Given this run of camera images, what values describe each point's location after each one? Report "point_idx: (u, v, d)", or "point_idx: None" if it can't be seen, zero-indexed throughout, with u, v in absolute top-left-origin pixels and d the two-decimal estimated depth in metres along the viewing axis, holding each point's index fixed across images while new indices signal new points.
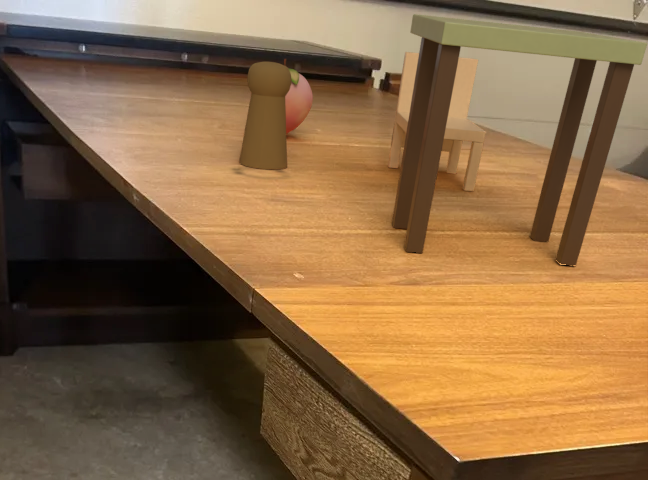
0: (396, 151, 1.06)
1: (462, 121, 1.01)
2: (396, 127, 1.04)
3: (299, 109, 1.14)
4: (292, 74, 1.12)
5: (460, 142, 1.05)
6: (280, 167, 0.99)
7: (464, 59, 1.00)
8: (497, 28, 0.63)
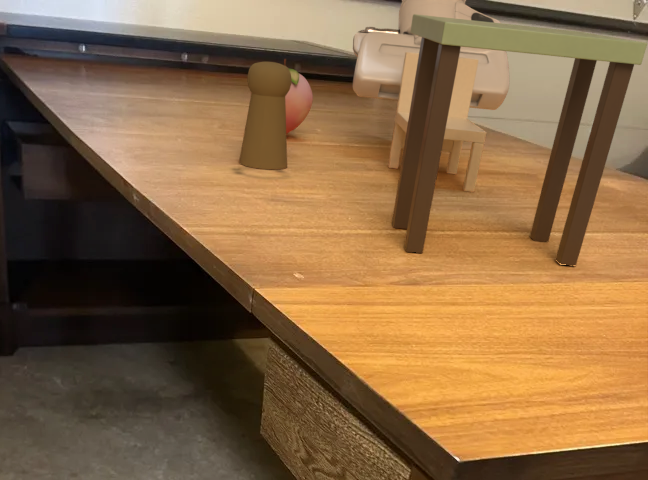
0: (397, 151, 1.06)
1: (462, 121, 1.00)
2: (396, 127, 1.04)
3: (299, 109, 1.14)
4: (292, 74, 1.12)
5: (460, 142, 1.05)
6: (280, 167, 0.99)
7: (464, 59, 1.00)
8: (497, 28, 0.63)
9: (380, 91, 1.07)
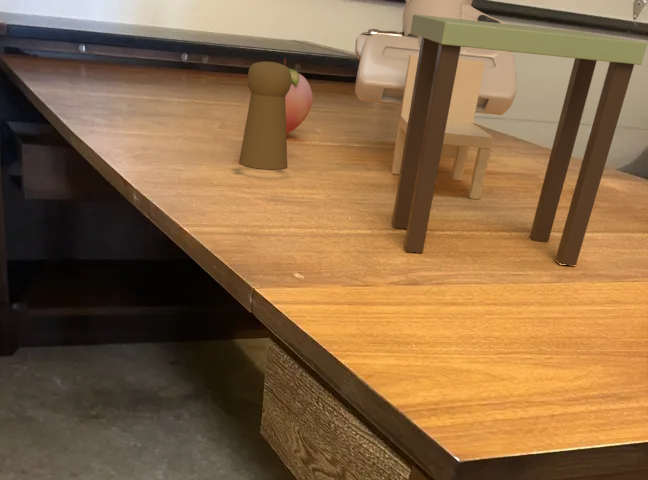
0: (400, 157, 1.02)
1: (468, 126, 0.97)
2: (400, 132, 1.01)
3: (299, 109, 1.14)
4: (292, 74, 1.12)
5: (466, 148, 1.02)
6: (280, 167, 0.99)
7: (470, 62, 0.97)
8: (497, 28, 0.63)
9: (383, 95, 1.04)
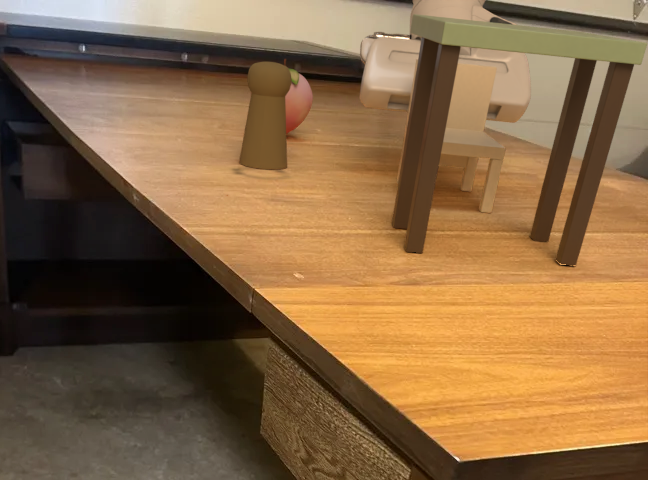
0: None
1: (479, 135, 0.92)
2: None
3: (299, 109, 1.14)
4: (292, 74, 1.12)
5: (476, 157, 0.96)
6: (280, 167, 0.99)
7: (481, 67, 0.91)
8: (497, 28, 0.63)
9: (390, 102, 0.98)
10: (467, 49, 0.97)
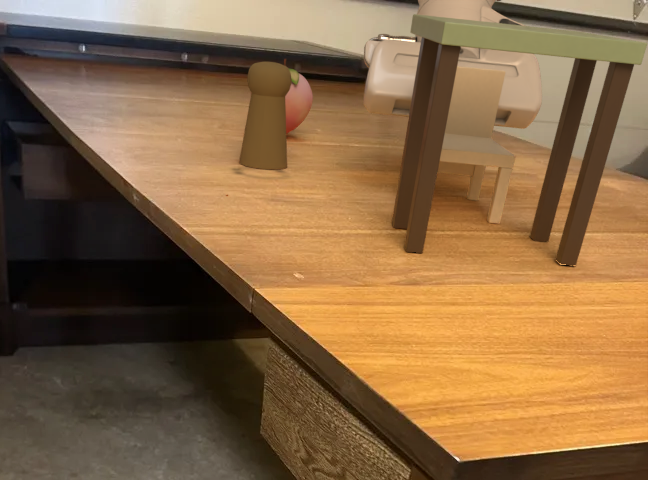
0: None
1: (486, 142, 0.88)
2: None
3: (299, 109, 1.14)
4: (292, 74, 1.12)
5: None
6: (280, 167, 0.99)
7: (489, 71, 0.87)
8: (497, 28, 0.63)
9: (395, 107, 0.94)
10: (475, 52, 0.93)
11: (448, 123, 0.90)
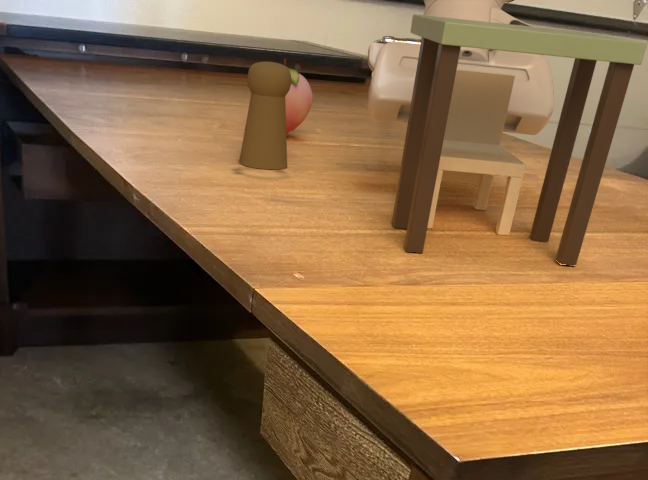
0: None
1: (495, 149, 0.84)
2: None
3: (299, 109, 1.14)
4: (292, 74, 1.12)
5: None
6: (280, 167, 0.99)
7: (498, 75, 0.83)
8: (497, 28, 0.63)
9: (400, 112, 0.91)
10: (484, 55, 0.89)
11: (455, 129, 0.86)
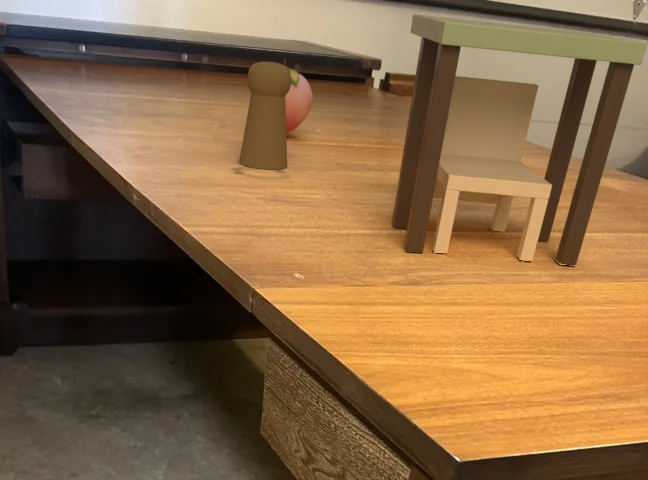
0: None
1: (516, 167, 0.76)
2: None
3: (299, 109, 1.14)
4: (292, 74, 1.12)
5: None
6: (280, 167, 0.99)
7: (520, 85, 0.75)
8: (497, 28, 0.63)
9: None
10: None
11: (471, 144, 0.78)
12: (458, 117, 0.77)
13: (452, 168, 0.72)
